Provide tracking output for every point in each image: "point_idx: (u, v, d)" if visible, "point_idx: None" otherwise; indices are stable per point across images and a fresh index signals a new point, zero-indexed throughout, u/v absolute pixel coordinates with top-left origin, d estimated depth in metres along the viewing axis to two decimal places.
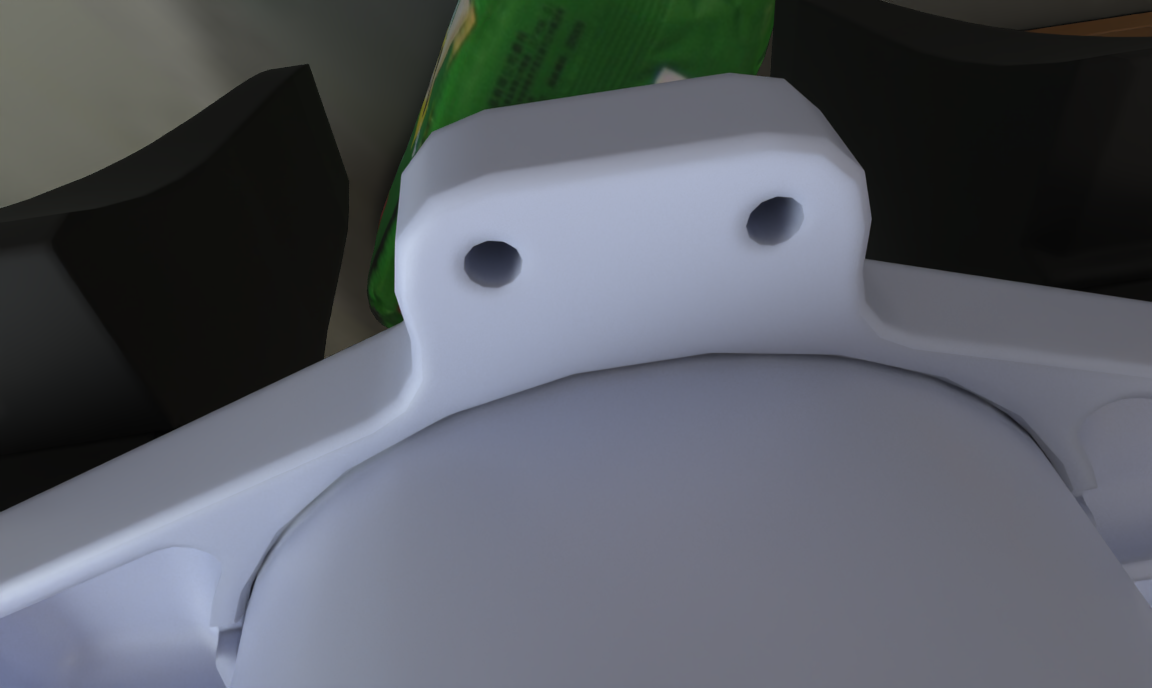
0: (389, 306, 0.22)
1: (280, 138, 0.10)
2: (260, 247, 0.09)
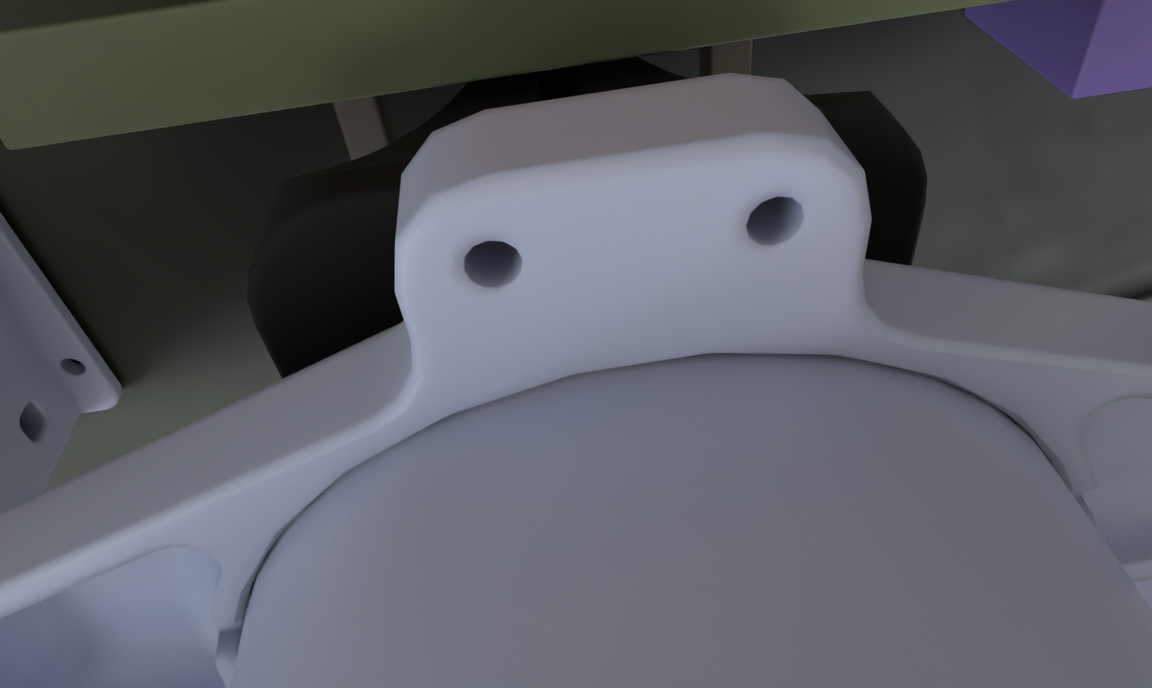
0: None
1: (547, 98, 0.10)
2: None
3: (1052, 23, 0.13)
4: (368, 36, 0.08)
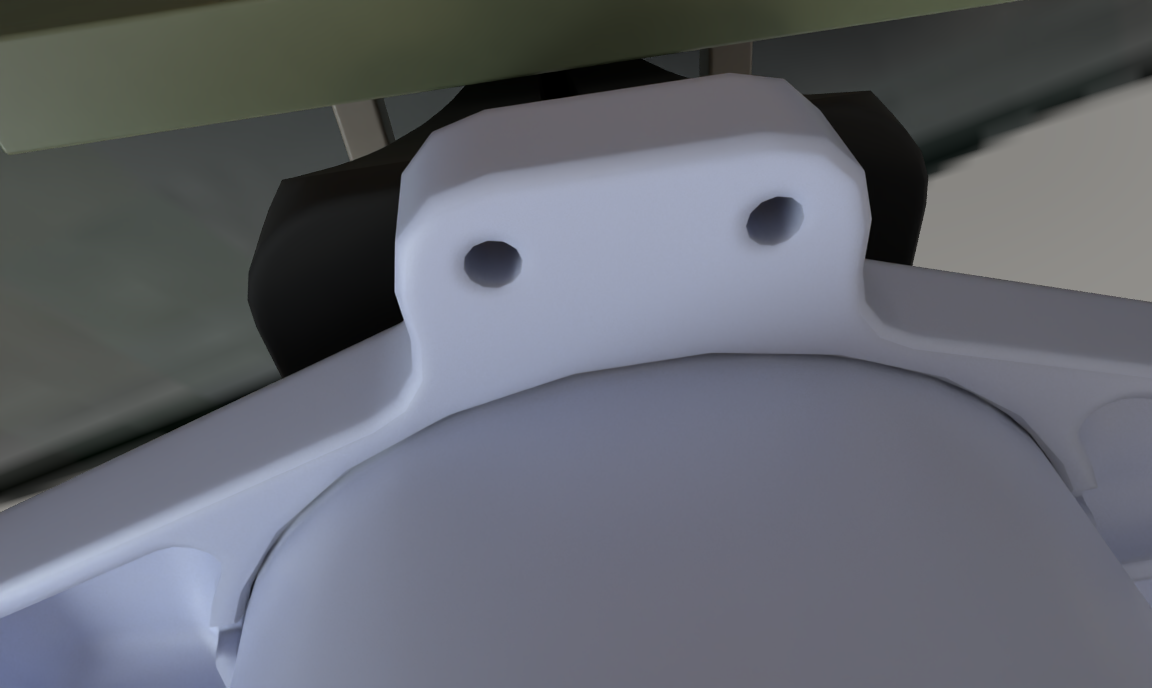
0: None
1: (547, 98, 0.10)
2: None
3: None
4: (366, 39, 0.08)
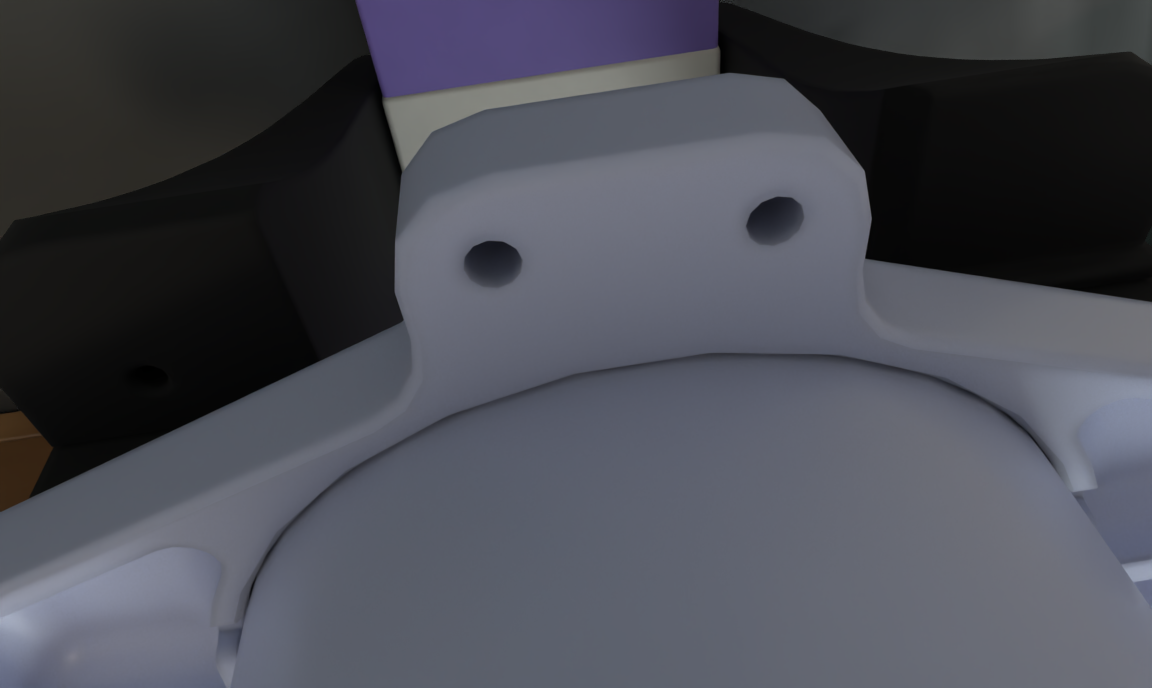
0: None
1: (387, 122, 0.10)
2: (378, 229, 0.09)
3: None
4: None
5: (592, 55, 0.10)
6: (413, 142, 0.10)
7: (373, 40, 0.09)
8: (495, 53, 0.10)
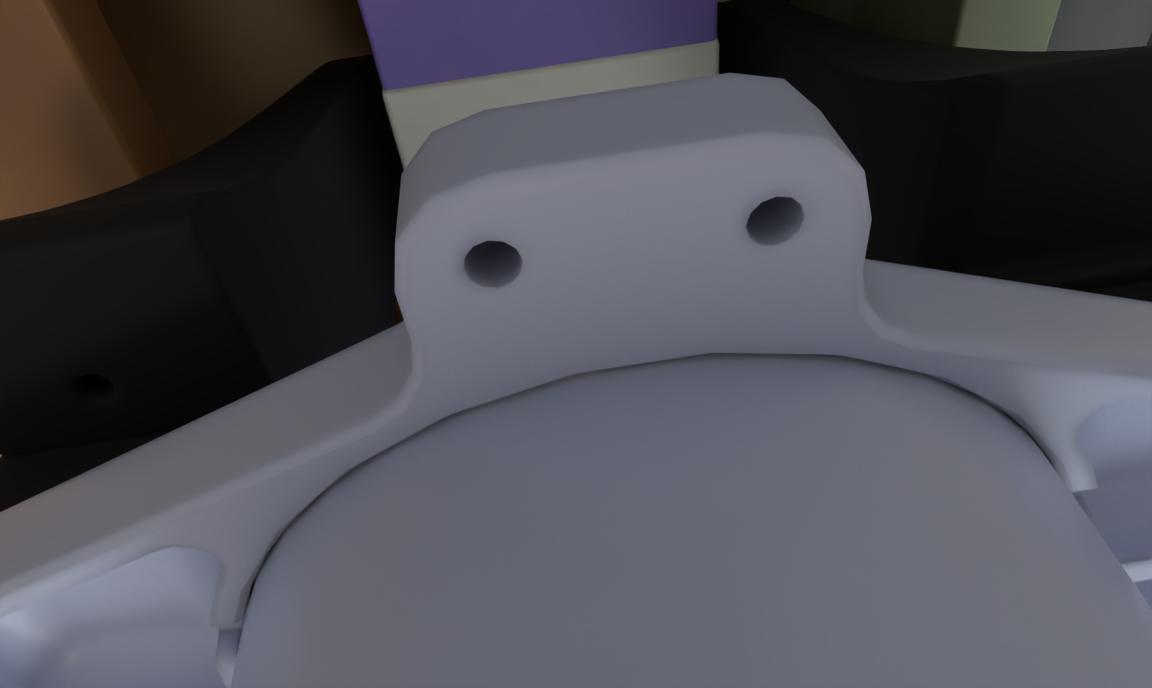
0: None
1: (353, 127, 0.10)
2: (341, 235, 0.09)
3: None
4: None
5: (591, 48, 0.10)
6: (413, 135, 0.10)
7: (373, 32, 0.09)
8: (494, 45, 0.10)
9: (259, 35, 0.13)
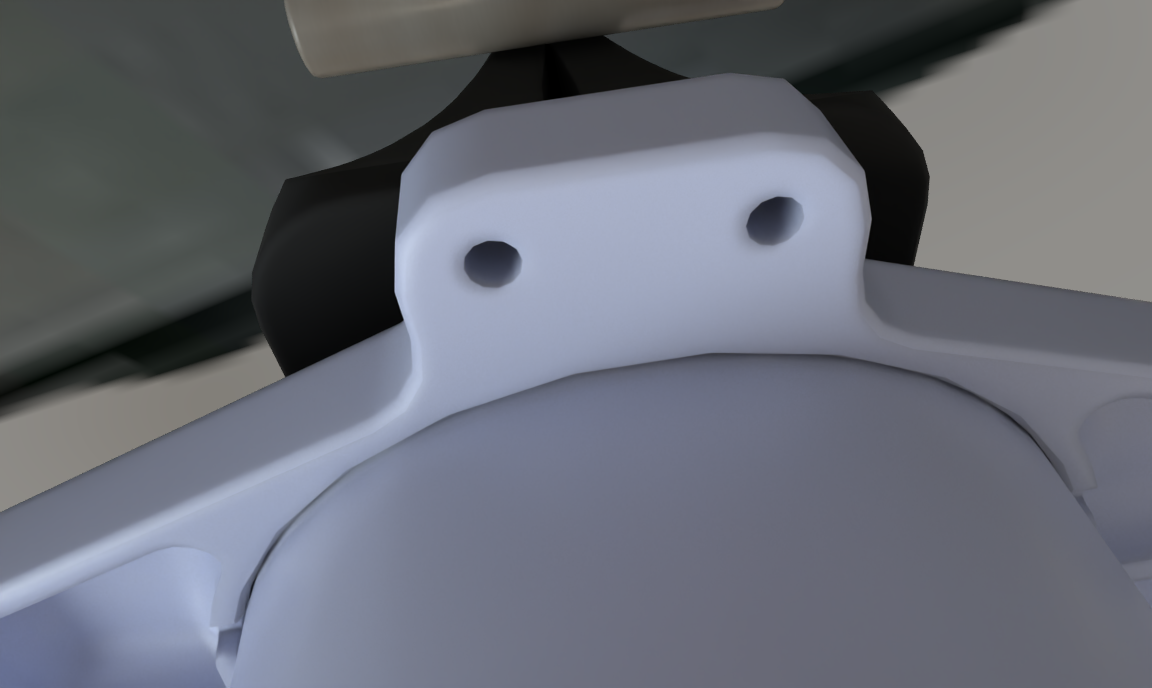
0: None
1: (549, 98, 0.10)
2: None
3: None
4: None
5: None
6: None
7: None
8: None
9: None
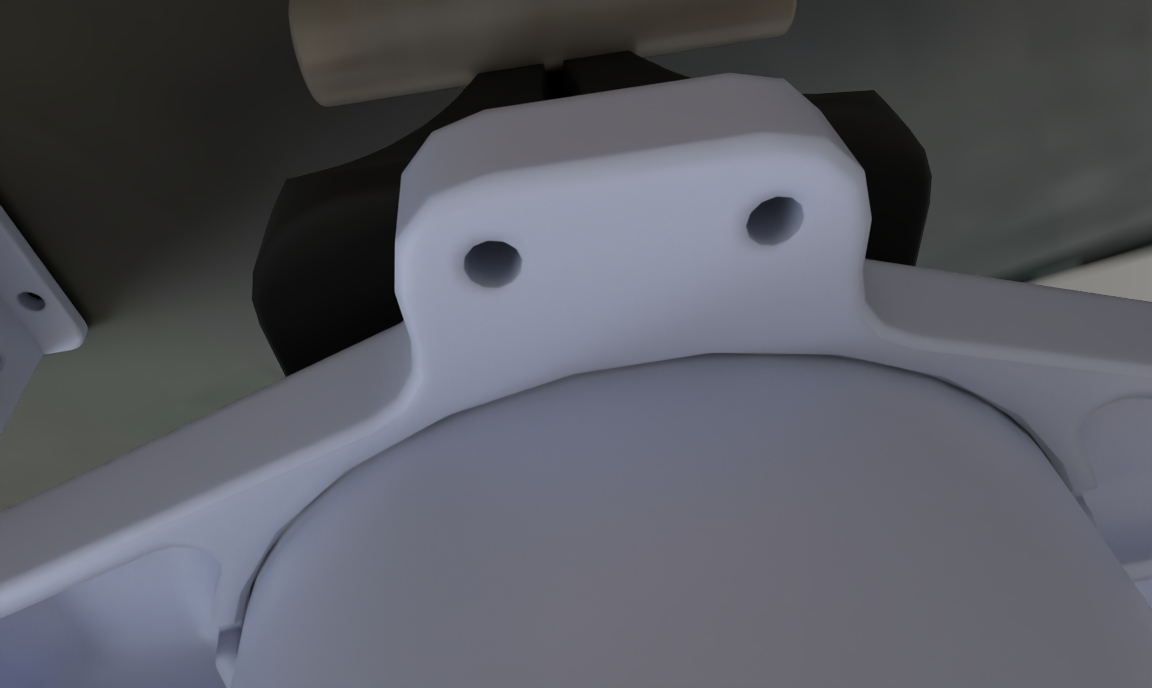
0: None
1: (549, 97, 0.10)
2: None
3: None
4: None
5: None
6: None
7: None
8: None
9: None
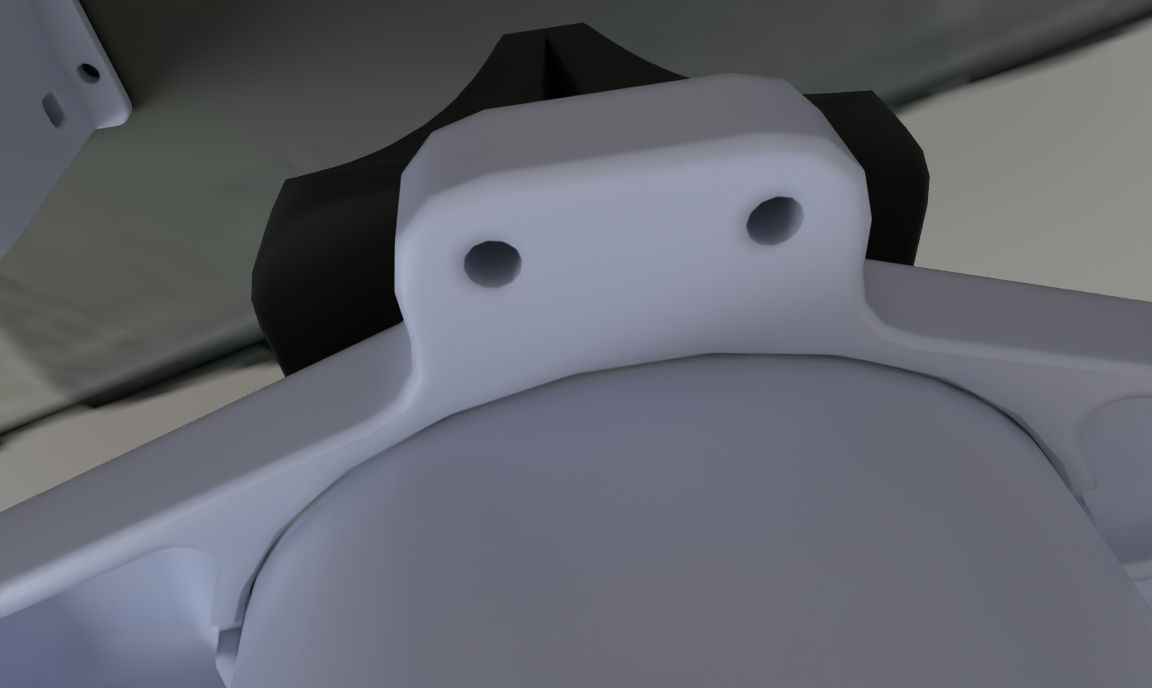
0: None
1: (549, 97, 0.10)
2: None
3: None
4: None
5: None
6: None
7: None
8: None
9: None
